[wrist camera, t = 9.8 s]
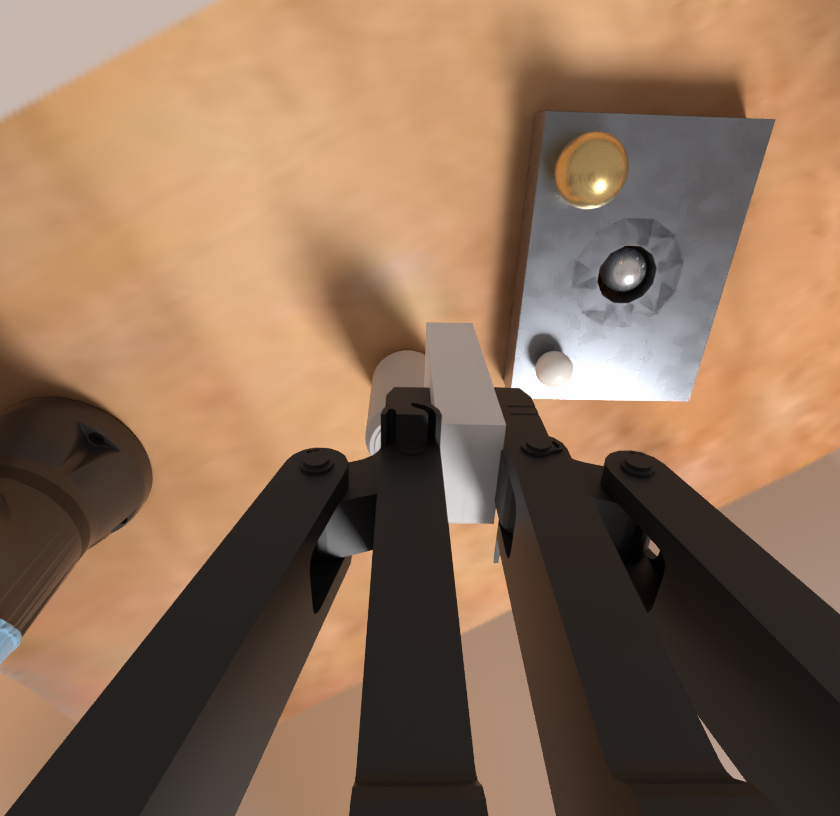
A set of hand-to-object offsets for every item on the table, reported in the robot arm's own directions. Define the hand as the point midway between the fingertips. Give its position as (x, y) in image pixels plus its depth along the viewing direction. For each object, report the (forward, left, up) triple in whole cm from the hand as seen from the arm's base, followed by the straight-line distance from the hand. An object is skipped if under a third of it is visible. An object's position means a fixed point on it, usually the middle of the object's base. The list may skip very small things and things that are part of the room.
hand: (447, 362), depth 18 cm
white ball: (+11, -10, -23) cm, 28 cm away
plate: (+16, -3, -28) cm, 33 cm away
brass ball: (+11, +4, -23) cm, 25 cm away
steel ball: (+16, -3, -27) cm, 31 cm away
